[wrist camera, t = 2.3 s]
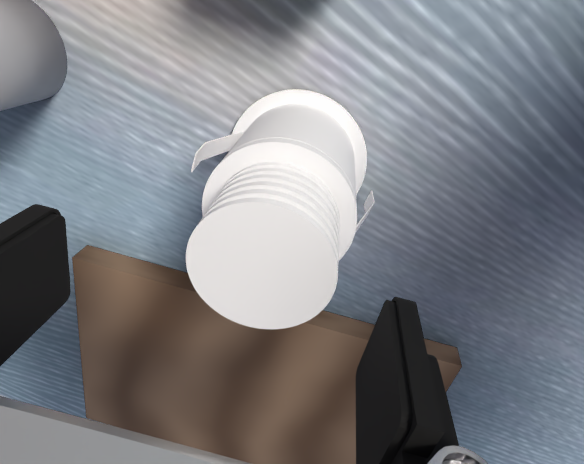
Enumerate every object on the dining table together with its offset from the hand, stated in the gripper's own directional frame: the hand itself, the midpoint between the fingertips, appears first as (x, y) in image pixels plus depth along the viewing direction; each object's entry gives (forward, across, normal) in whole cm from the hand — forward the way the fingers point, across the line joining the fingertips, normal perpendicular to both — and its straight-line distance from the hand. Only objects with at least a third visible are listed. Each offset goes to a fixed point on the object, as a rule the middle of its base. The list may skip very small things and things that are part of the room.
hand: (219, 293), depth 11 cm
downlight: (+11, -1, -1) cm, 11 cm away
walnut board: (+11, -1, +16) cm, 20 cm away
